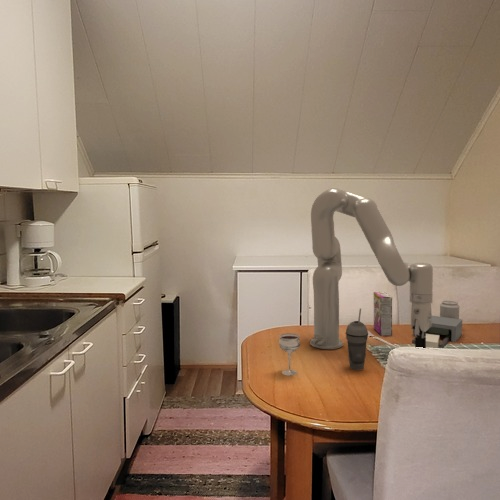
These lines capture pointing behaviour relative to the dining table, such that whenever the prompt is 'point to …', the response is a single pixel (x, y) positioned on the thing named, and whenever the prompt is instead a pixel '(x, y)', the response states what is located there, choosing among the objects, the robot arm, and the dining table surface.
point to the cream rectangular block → (432, 340)
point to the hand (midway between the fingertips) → (420, 347)
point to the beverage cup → (356, 343)
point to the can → (449, 309)
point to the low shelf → (445, 329)
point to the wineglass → (289, 348)
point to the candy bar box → (383, 313)
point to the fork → (381, 340)
